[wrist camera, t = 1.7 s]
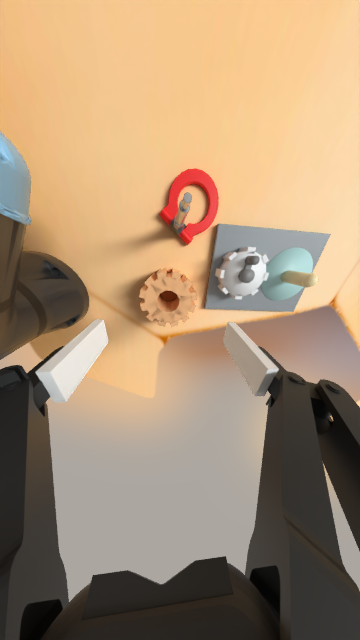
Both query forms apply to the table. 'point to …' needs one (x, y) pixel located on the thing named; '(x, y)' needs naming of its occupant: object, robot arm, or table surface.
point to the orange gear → (162, 308)
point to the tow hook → (178, 215)
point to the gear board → (247, 275)
